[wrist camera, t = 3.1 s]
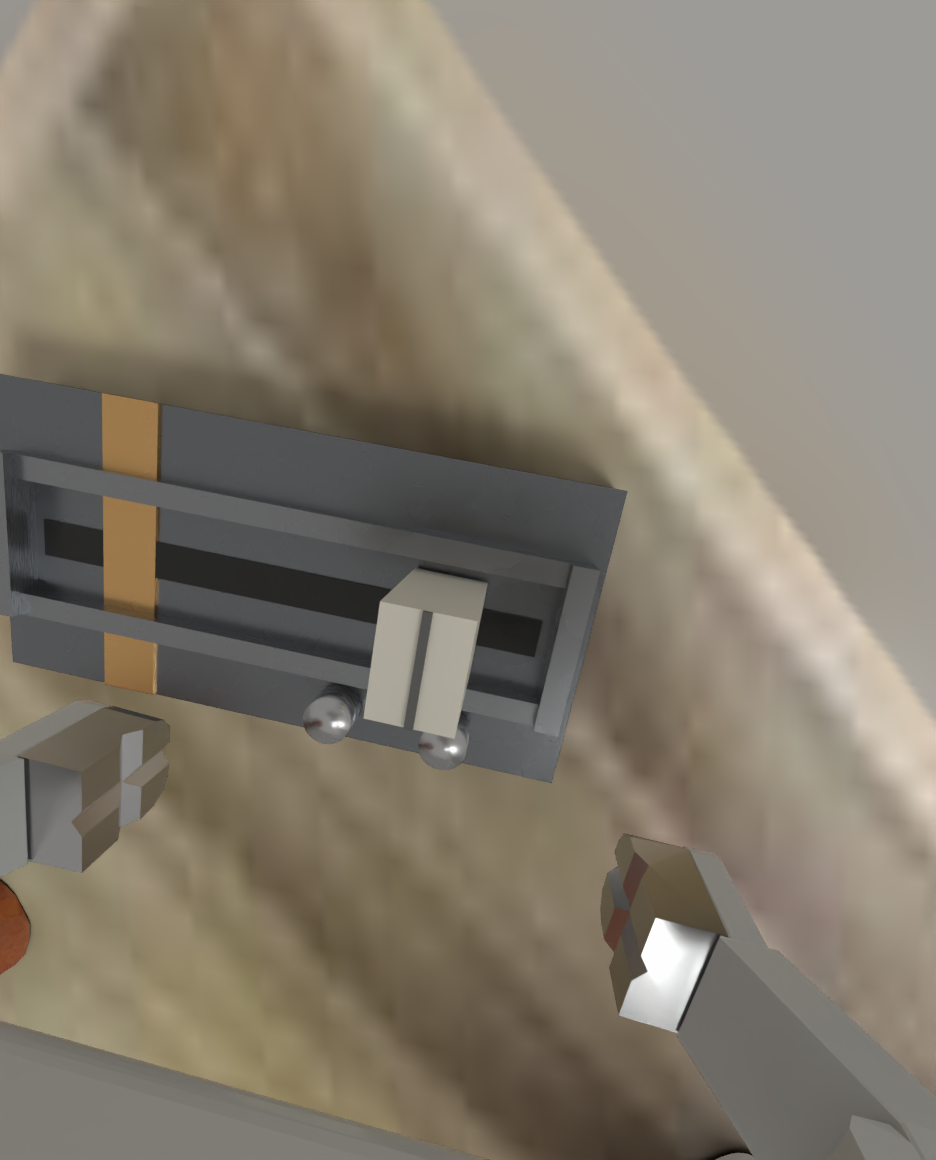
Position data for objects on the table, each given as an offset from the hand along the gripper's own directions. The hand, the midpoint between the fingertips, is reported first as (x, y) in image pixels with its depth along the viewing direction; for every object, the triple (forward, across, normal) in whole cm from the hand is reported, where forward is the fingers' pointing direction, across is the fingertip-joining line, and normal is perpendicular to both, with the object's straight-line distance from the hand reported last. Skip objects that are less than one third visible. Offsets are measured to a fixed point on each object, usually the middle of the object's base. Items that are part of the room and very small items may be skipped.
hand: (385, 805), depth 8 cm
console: (+14, +8, +1) cm, 16 cm away
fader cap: (+11, +1, 0) cm, 11 cm away
